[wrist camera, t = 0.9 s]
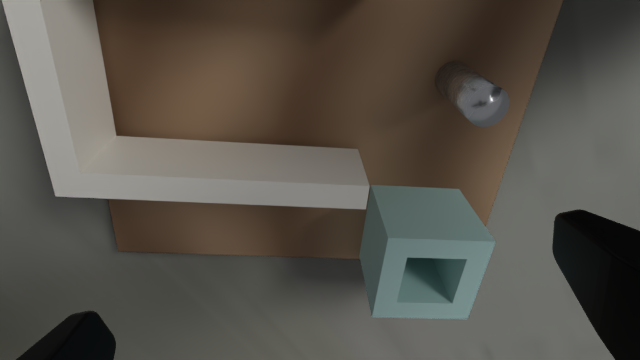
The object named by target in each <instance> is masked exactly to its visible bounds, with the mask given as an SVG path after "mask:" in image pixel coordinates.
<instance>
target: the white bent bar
mask: <svg viewBox="0 0 640 360" xmlns="http://www.w3.org/2000/svg"><path fill="white" fill-rule="evenodd" d="M2 3H3V6H4V10H5V14H6V17H7V21H8V25H9V28H10V32H11V36H12V39H13V43H14V47H15V50H16V54H17V58H18V61H19V65H20V68H21V72H22V76H23V79H24V83H25V87H26V90H27V94H28V98H29V101H30V105H31V109H32V112H33V116H34V120H35V123H36V127H37V130H38V134H39V138H40V141H41V145H42V149H43V152H44V156H45V160H46V163H47V167H48V171H49V174H50V178H51V182H52V185H53V189H54V192H55V196H56V197H80V198H104V199H128V200H152V201H176V202H199V203H223V204H247V205H271V206H295V207H319V208H343V209H366V206H367V200H368V193H369V187H370V186H369V182H368V179H367V176H366V173H365V170H364V167H363V164H362V160H361V157H360V154H359V151H358V149H349V148H330V147H312V146H294V145H275V144H257V143H239V142H220V141H202V140H184V139H165V138H147V137H129V136H116V131H115V125H114V119H113V113H112V108H111V102H110V96H109V90H108V85H107V79H106V73H105V68H104V62H103V56H102V50H101V45H100V39H99V33H98V27H97V22H96V16H95V10H94V4H93V0H2Z"/></svg>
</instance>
